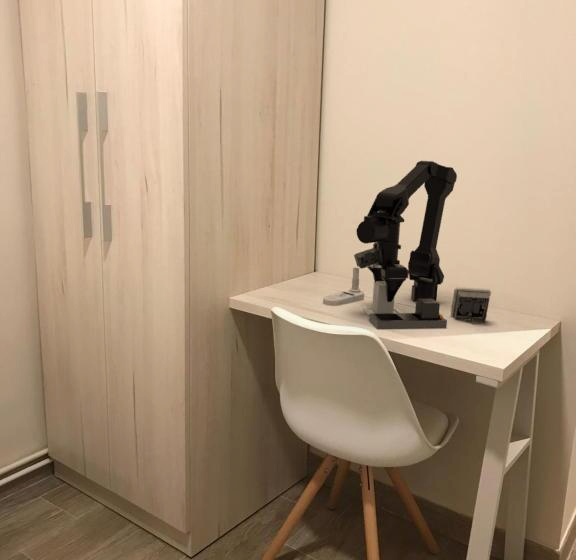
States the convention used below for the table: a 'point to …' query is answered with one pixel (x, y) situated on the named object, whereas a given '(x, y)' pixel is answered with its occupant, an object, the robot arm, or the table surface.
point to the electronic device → (346, 293)
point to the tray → (369, 310)
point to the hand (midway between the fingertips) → (383, 297)
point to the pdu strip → (411, 317)
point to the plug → (381, 299)
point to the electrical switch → (470, 304)
